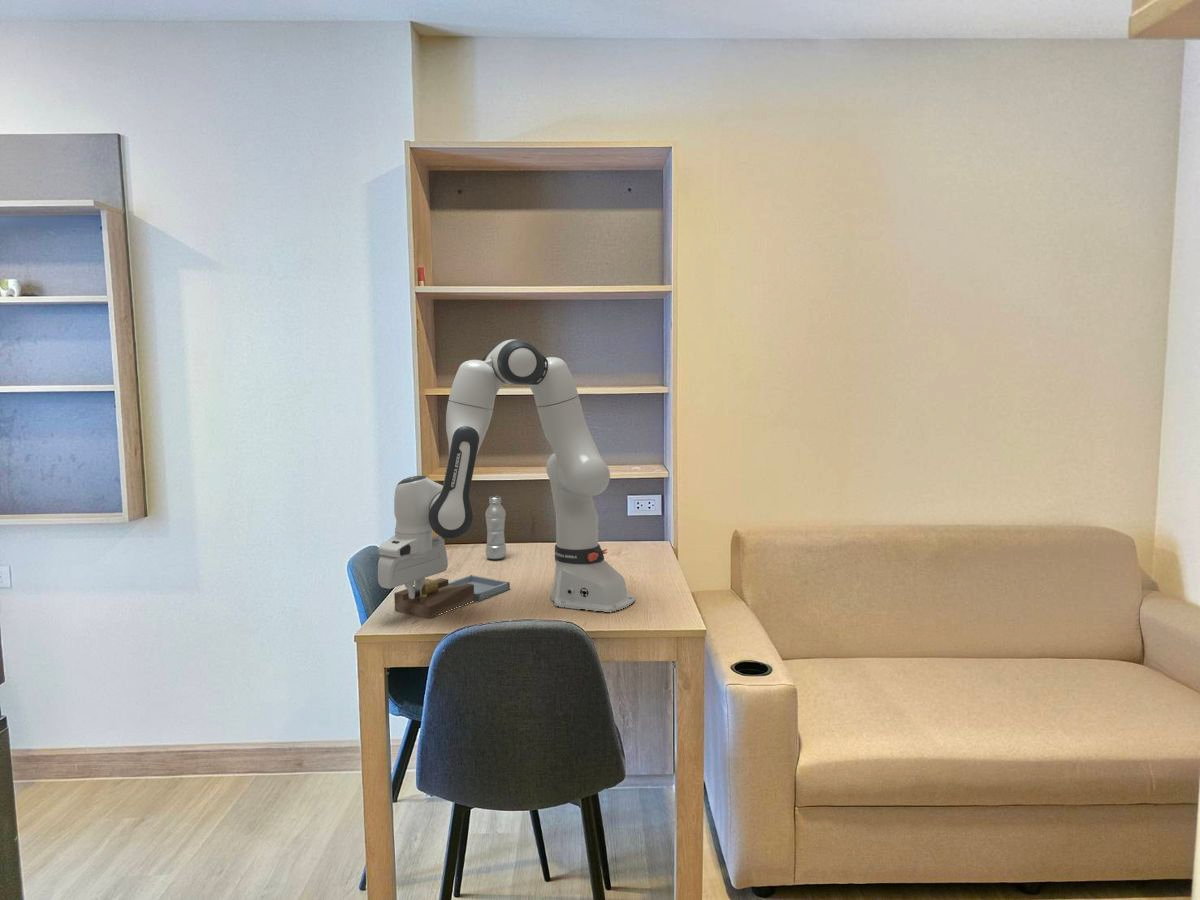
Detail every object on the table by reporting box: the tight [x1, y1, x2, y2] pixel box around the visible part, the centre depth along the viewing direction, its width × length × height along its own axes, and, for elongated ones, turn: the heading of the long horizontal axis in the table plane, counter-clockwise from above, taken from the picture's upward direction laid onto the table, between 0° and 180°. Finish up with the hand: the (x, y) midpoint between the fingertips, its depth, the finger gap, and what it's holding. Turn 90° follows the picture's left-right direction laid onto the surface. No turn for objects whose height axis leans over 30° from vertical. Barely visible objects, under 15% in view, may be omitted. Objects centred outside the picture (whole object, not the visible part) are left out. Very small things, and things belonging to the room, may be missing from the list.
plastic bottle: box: [484, 495, 507, 560], centre depth 236 cm, size 6×7×20 cm
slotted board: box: [393, 577, 475, 619], centre depth 189 cm, size 12×16×4 cm
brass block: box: [414, 578, 438, 599], centre depth 187 cm, size 4×4×4 cm
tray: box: [448, 574, 511, 602], centre depth 202 cm, size 14×13×2 cm
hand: (415, 597), depth 183 cm, fingers closed
